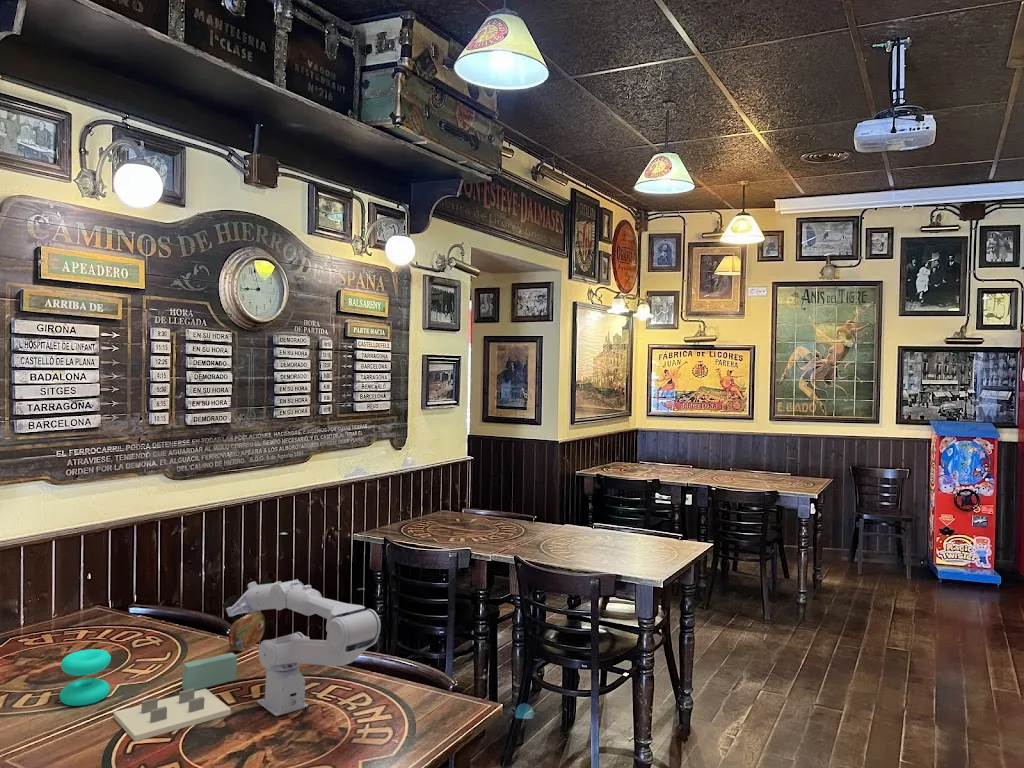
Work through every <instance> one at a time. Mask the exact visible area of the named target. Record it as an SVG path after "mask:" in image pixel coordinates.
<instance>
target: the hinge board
mask: <svg viewBox="0 0 1024 768" xmlns="http://www.w3.org/2000/svg"><path fill="white" fill-rule="evenodd" d="M231 712H232V708H231V707H229V706H228V705H227V704H226V703H224V702H223V701H221V700H220V699H219V698H218V697H217V696H216V695H214V694H213V693H212V692H211V691H209V690H208V689H207V688H201V689H197V690H194V689H193V688H192V689H188V690H184V689H183V690H182V691H179V695H174V696H170V697H167V698H163V699H158V697H154V698H149V699H145V700H141V704H140V705H139V704H138V705H136V706H135V705H134V706H132V707H127V708H125V709H121V710H120V709H119V710H116V711H113V716H112V718H113V719H114V721H116V722H117V723H118V724H119V726H120V727H121V728H122V729H123V730H124V731H125V733H127V735H128V736H129V737H130V738H131V739H132V740H133V742H138V741H143V740H145V739H149V738H153V737H155V736H159V735H162V734H163V735H164V734H167V733H170V732H174V731H177V730H180V729H184V728H188V727H191V726H194V725H198V724H203V723H205V722H206V723H207V722H209V721H212V720H216V719H220V718H223V717H225V716H226V717H227V716H230V715H232V713H231Z"/></svg>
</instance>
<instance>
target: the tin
mask: <svg viewBox="0 0 1024 768" xmlns="http://www.w3.org/2000/svg"><path fill="white" fill-rule="evenodd" d="M265 629H266V619H265V615H264V614H263V613H262V611H256V612H249V613H246V614H245V615H244V616H243V617H242V618H240V619H239V620H234V622H233V623H232V624H231V626H230V629H229V632H228V643H229V648H230V649H231V650H232V651H233V652H234V651H235V652H245V651H247V650H248V649H249V648H251V647H253V646H254V645H256V644H257V643H259V642H260V641H261V640H262V638H263V636H264V634H265Z"/></svg>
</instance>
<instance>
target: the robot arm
mask: <svg viewBox="0 0 1024 768" xmlns="http://www.w3.org/2000/svg"><path fill="white" fill-rule="evenodd" d="M222 608H223V610H224V612H225V613H227V615H228V617H229V618H230V617H232V620H233V621H237V620H239V619H240V618H242V617H244V616H243V614H249V613H251V612H261V611H263V610H264V611H265V610H276V611H281V610H283V609H288V610H291V611H293V612H295V613H298V614H301V615H304V616H309V617H310V616H312V615H315V614H316V615H318V616H320V617H322V618H324V619H326V625H325V631H326V633H327V634H326V639H325V640H324V639H310V636H306V635H304V633H302V632H300V631H296V632H294V633H290V634H287V635H283V636H279V637H274V638H272V639H264V640H262V641H261V642H260V644H259V647H258V651H257V652H258V653H257V654H258V659H259V662H260V664H261V666H262V667H263V668H265V688H264V689H265V690H264V692H265V693H264V698H261V699H258V700H257V703H258V704H259V705H260V706H262V707H264V709H266V710H267V711H268V712H270V713H271V714H272V715H274V716H275V717H278V716H279V717H280V716H281V715H286V714H289V713H292V712H295V711H299V710H301V709H302V710H303V709H305V707H306V708H308V707H309V704H308V703H306V701H305V698H306V694H305V693H306V679H305V677H304V675H303V674H302V673H301V672H300V665H302V664H303V665H304V664H306V665H317V666H327V667H328V666H329V667H342V666H345V665H349V664H352V663H353V662H354V661H355V660H356V659H357V658H359V657H360V656H361V655H362V654H363V653H364V652H365V651H366V650H367V649H368V648H370V647H372V646H373V645H375V644H376V643H377V641H378V640H379V637H380V633H381V628H382V626H381V625H382V623H381V620H380V617H379V615H378V614H377V612H376V611H375V610H374V609H372V608H367V609H366V606H364V605H361V604H355V603H347V602H342V601H338V600H335V599H330V598H325V597H323V596H322V593H321V592H320V590H319V591H318V590H316V589H315V588H312V585H311V584H306V585H304V583H302V581H300V580H299V579H298V578H296V579H294V580H288V581H283V582H282V580H279V581H275V582H274V583H273V581H272V580H271V578H269V577H267V578H264V579H263V580H261V581H260V583H258V584H257V582H256V581H255V580H254V581H252V582H249V583H248V584H247V590H246V591H245V592H244V593H243V595H241V596H240V598H239V599H238V597H237V594H235V595H233V596H230V597H229V598H227V599H226V602H224V603H222ZM364 609H365V610H364Z"/></svg>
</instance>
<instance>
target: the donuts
mask: <svg viewBox="0 0 1024 768" xmlns="http://www.w3.org/2000/svg"><path fill="white" fill-rule="evenodd" d="M111 660H112V656H111V654H110V653H109V652H108V651H107V650H103V649H98V648H97V649H96V648H95V649H94V648H90V649H89V648H88V649H81V650H77V651H74V652H72V653H69V654H67V655H66V656H64V657H63V659H62V660H61V662H60V668H61V670H62V671H63V673H65V674H68V675H69V676H70V675H71V676H77V677H78V676H81V677H82V676H89V675H94V674H97V673H99V672H101V671H103V670H104V669H106V668H107V667H108V666H109V665H110V664H111V662H112V661H111ZM109 693H110V684H109V683H108V681H107V680H104V679H102V678H97V677H88V678H87V677H86V678H80V679H75V681H72V682H69V683H68V684H67V685H65V686H64V687H62V689H61V690H60V692H59V699H60V701H61V703H62V704H64V705H68V706H72V707H81V706H82V707H83V706H87V705H88V706H89V705H91V704H95V703H98V702H100V701H102V700H103V699H105V698H106V697H107V696H108V695H109Z"/></svg>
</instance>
